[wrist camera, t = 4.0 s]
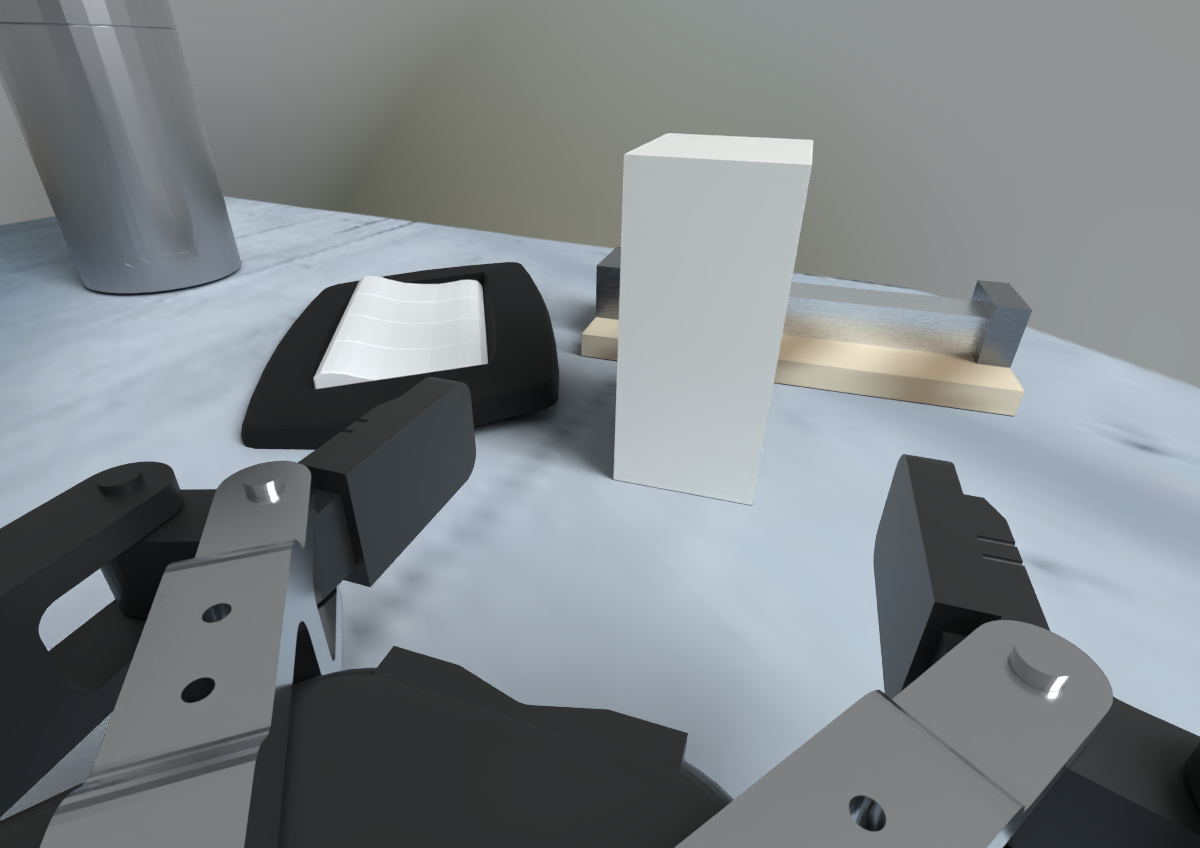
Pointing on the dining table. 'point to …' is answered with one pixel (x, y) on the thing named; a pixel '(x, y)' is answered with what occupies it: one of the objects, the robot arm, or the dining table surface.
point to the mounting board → (868, 371)
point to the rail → (884, 316)
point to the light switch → (406, 352)
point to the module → (704, 306)
